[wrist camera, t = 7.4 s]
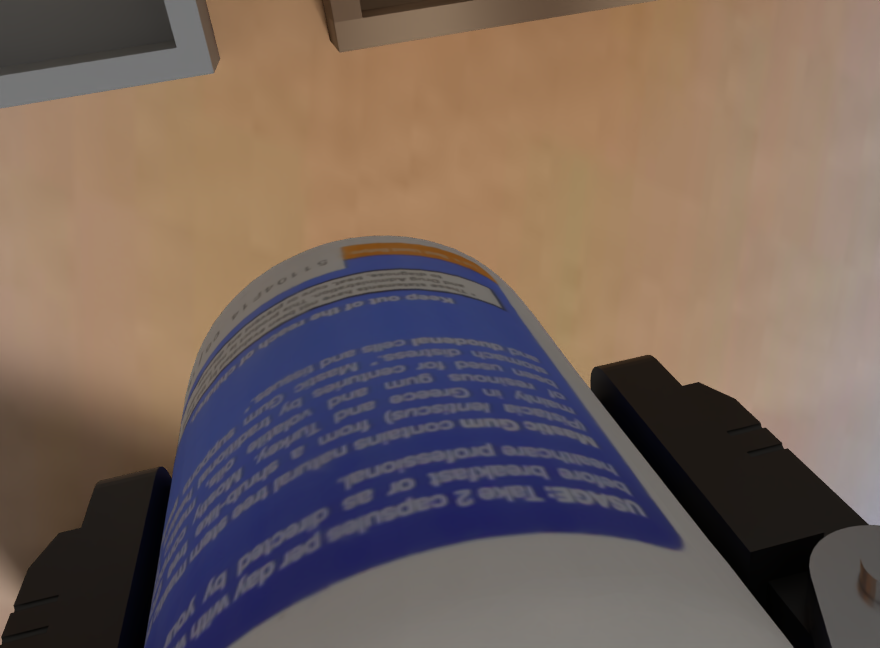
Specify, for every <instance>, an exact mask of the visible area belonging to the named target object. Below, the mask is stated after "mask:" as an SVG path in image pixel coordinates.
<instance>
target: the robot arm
mask: <svg viewBox="0 0 880 648" xmlns="http://www.w3.org/2000/svg"><path fill="white" fill-rule="evenodd" d="M591 391H592V392H593V393H594V395H595V396H596V397H597V399H598V400H599V401H600V402H601V404H602V405H603V406H604V407H605V409H606V410H607V411H608V413H609V414H610V415H611V416H612V418H613V419H614V420H615V422H616V423H617V424H618V425H619V427H620V428H621V429H622V430H623V432H624V433H625V434H626V436H627V437H628V438H629V439H630V441H631V442H632V443H633V444H634V446H635V447H636V448H637V450H638V451H639V452H640V453H641V455H642V456H643V457H644V458H645V460H646V461H647V462H648V464H649V465H650V466H651V467H652V469H653V470H654V471H655V472H656V474H657V475H658V476H659V478H660V479H661V480H662V481H663V483H664V484H665V485H666V486H667V488H668V489H669V490H670V491H671V493H672V494H673V495H674V497H675V498H676V499H677V500H678V502H679V503H680V504H681V505H682V507H683V508H684V509H685V511H686V512H687V513H688V514H689V516H690V517H691V518H692V519H693V521H694V522H695V523H696V525H697V526H698V527H699V528H700V530H701V531H702V532H703V533H704V535H705V536H706V537H707V538H708V540H709V541H710V542H711V543H712V545H713V546H714V547H715V548H716V549H717V551H718V552H719V553H720V554H721V555H722V557H723V558H724V559H725V560H726V562H727V563H728V564H729V565H730V567H731V568H732V569H733V570H734V572H735V573H736V574H737V576H738V577H739V578H740V580H741V581H742V582H743V583H744V585H745V586H746V587H747V589H748V590H749V591H750V592H751V594H752V595H753V596H754V598H755V599H756V600H757V601H758V603H759V604H760V605H761V606H762V608H763V609H764V610H765V611H766V613H767V614H768V615H769V617H770V618H771V619H772V620H773V622H774V623H775V624H776V625H777V627H778V628H779V629H780V630H781V632H782V633H783V634H784V636H785V637H786V638H787V639H788V641H789V642H790V643H791V645H792V646H793V647H794V648H880V526H878V525H869V524H867V523H866V522H865V521H864V520H863V519H862V518H861V517H860V516H859V515H858V514H857V513H856V512H855V511H854V510H853V509H852V508H850V507H849V506H848V505H847V504H846V503H845V502H844V501H843V500H842V499H841V498H840V497H839V496H838V495H837V494H836V493H835V492H833V491H832V490H831V489H830V488H829V487H828V486H827V485H826V484H825V483H824V482H823V481H822V480H821V479H820V478H819V477H818V476H816V475H815V474H814V473H813V472H812V471H811V470H810V469H809V468H808V467H807V466H806V465H805V464H804V463H803V462H802V461H801V460H799V459H798V458H797V457H796V456H795V455H794V454H793V453H792V452H791V451H790V450H789V449H788V448H787V449H784V448H783V446H782V443H781V442H780V441H779V440H778V439H777V438H776V437H775V436H774V435H773V434H772V433H771V432H770V431H769V430H768V429H767V428H762V427H761V423H760V422H759V421H758V420H757V419H756V418H755V417H754V416H753V415H752V414H751V413H750V412H748V411H747V410H746V409H745V408H744V407H743V406H742V405H741V404H740V403H739V402H738V401H737V400H736V399H734V398H732V397H730V396H728V395H725V394H723V393H721V392H719V391H717V390H714V389H712V388H710V387H708V386H706V385H704V384H701V383H699V382H697V383H693V384H689V385H685V386H682V385H681V384H680V383H679V382H678V381H677V380H676V379H675V378H674V377H673V376H672V375H671V374H670V373H669V372H668V371H667V370H666V369H665V368H664V367H663V366H662V365H661V364H660V362H659V361H658V360H657V359H655V358H654V357H653V356H651V355H645V356H641V357H636V358H632V359H628V360H623V361H619V362H615V363H610V364H606V365H602V366H597V367H594V368H593V370H592V373H591ZM171 482H172V479H171V477H170V475H169V473H168V472H167V470H166V469H165V468H164V467H157V468H153V469H148V470H144V471H140V472H135V473H131V474H127V475H122V476H118V477H114V478H109V479H105V480H101V481H99V482H98V483H97V484H96V486H95V488H94V491H93V494H92V497H91V500H90V503H89V506H88V509H87V512H86V515H85V518H84V521H83V524H82V527H81V528H79V529H74V530H70V531H66V532H62V533H59V534H58V535H57V536H56V537H55V538H54V540H53V541H52V542H51V543H50V544H49V545H48V546H47V548H46V549H45V550H44V551H43V552H42V553H41V555H40V556H39V557H38V558H37V559H36V560H35V562H34V563H33V564H32V565H31V566H30V567H29V569H28V571H27V573H26V576H25V578H24V581H23V583H22V586H21V589H20V591H19V594H18V596H17V599H16V601H15V604H14V609H15V612H14V613H11V614H10V616H9V619H8V621H7V624H6V626H5V629H4V631H3V634H2V637H1V638H2V645H0V648H144V645H145V639H146V633H147V627H148V621H149V615H150V609H151V604H152V598H153V592H154V586H155V580H156V574H157V568H158V562H159V556H160V549H161V543H162V536H163V530H164V524H165V518H166V512H167V506H168V501H169V495H170V489H171Z"/></svg>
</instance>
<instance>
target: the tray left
mask: <svg viewBox="0 0 880 648" xmlns="http://www.w3.org/2000/svg"><path fill="white" fill-rule="evenodd" d="M219 60H220V56H219V52H218V48H217V44H216V40H215V36H214V32H213V28H212V24H211V20H210V16H209V12H208V8H207V4H206V0H0V108H6V107H12V106H18V105H24V104H30V103H36V102H42V101H48V100H54V99H60V98H66V97H72V96H78V95H85V94H91V93H97V92H103V91H109V90H115V89H121V88H127V87H133V86H139V85H145V84H151V83H157V82H164V81H170V80H176V79H182V78H188V77H194V76H200V75H206V74H212V73H214V72H215V70H216V67H217V65H218V63H219Z"/></svg>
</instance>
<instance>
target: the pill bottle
mask: <svg viewBox="0 0 880 648" xmlns="http://www.w3.org/2000/svg"><path fill="white" fill-rule="evenodd" d="M144 648H794V647H793V646H792V645H791V643H790V642H789V641H788V639H787V638H786V637H785V636H784V634H783V633H782V632H781V630H780V629H779V628H778V627H777V625H776V624H775V623H774V622H773V620H772V619H771V618H770V617H769V615H768V614H767V613H766V611H765V610H764V609H763V608H762V606H761V605H760V604H759V603H758V601H757V600H756V599H755V598H754V596H753V595H752V594H751V592H750V591H749V590H748V589H747V587H746V586H745V585H744V583H743V582H742V581H741V580H740V578H739V577H738V576H737V574H736V573H735V572H734V570H733V569H732V568H731V567H730V565H729V564H728V563H727V562H726V560H725V559H724V558H723V557H722V555H721V554H720V553H719V552H718V551H717V549H716V548H715V547H714V546H713V545H712V543H711V542H710V541H709V540H708V538H707V537H706V536H705V535H704V533H703V532H702V531H701V530H700V528H699V527H698V526H697V525H696V523H695V522H694V521H693V519H692V518H691V517H690V516H689V514H688V513H687V512H686V511H685V509H684V508H683V507H682V505H681V504H680V503H679V502H678V500H677V499H676V498H675V497H674V495H673V494H672V493H671V491H670V490H669V489H668V488H667V486H666V485H665V484H664V483H663V481H662V480H661V479H660V478H659V476H658V475H657V474H656V472H655V471H654V470H653V469H652V467H651V466H650V465H649V464H648V462H647V461H646V460H645V458H644V457H643V456H642V455H641V453H640V452H639V451H638V450H637V448H636V447H635V446H634V444H633V443H632V442H631V441H630V439H629V438H628V437H627V436H626V434H625V433H624V432H623V430H622V429H621V428H620V427H619V425H618V424H617V423H616V422H615V420H614V419H613V418H612V416H611V415H610V414H609V413H608V411H607V410H606V409H605V407H604V406H603V405H602V404H601V402H600V401H599V400H598V399H597V397H596V396H595V395H594V393H593V392H592V391H591V390H590V388H589V387H588V386H587V384H586V383H585V382H584V381H583V379H582V378H581V377H580V376H579V374H578V373H577V372H576V370H575V369H574V368H573V367H572V365H571V364H570V363H569V361H568V360H567V359H566V357H565V356H564V355H563V353H562V352H561V351H560V349H559V348H558V347H557V345H556V344H555V343H554V341H553V340H552V339H551V337H550V336H549V335H548V333H547V332H546V331H545V329H544V328H543V327H542V325H541V324H540V323H539V321H538V320H537V318H536V317H535V316H534V315H533V313H532V312H531V311H530V310H529V309H528V307H527V306H526V305H525V304H524V302H523V301H522V300H521V299H520V298H519V296H518V295H517V294H516V293H515V292H514V290H513V289H512V288H511V287H510V286H508V285H507V284H506V283H505V282H504V281H503V280H502V279H501V278H500V277H499V276H498V275H497V274H495V273H494V272H493V271H492V270H490V269H489V268H488V267H486V266H485V265H483V264H482V263H480V262H479V261H477V260H475V259H474V258H472V257H470V256H468V255H466V254H464V253H462V252H460V251H458V250H456V249H454V248H450V247H447V246H444V245H441V244H438V243H435V242H431V241H427V240H423V239H416V238H410V237H400V236H366V237H357V238H349V239H344V240H340V241H335V242H331V243H327V244H323V245H320V246H318V247H315V248H312V249H309V250H306V251H304V252H302V253H300V254H298V255H296V256H294V257H291V258H289V259H287V260H285V261H283V262H281V263H279V264H277V265H276V266H274V267H272V268H271V269H269V270H268V271H266V272H265V273H264V274H262V275H261V276H259V277H258V278H256V279H255V280H253V281H252V282H251V283H250V284H249V285H248V286H247V287H245V288H244V289H243V290H242V291H241V292H240V293H239V294H238V295H237V296H236V297H235V298H234V299H233V300H232V301H231V302H230V303H229V304H228V305H227V307H226V308H225V309H224V310H223V312H222V313H221V314H220V316H219V317H218V318H217V319H216V321H215V322H214V324H213V325H212V327H211V329H210V330H209V332H208V334H207V336H206V337H205V339H204V341H203V343H202V346H201V348H200V350H199V352H198V354H197V357H196V360H195V363H194V366H193V369H192V372H191V376H190V380H189V384H188V388H187V392H186V397H185V403H184V409H183V415H182V422H181V428H180V434H179V440H178V446H177V452H176V457H175V463H174V468H173V475H172V482H171V489H170V495H169V501H168V506H167V512H166V518H165V524H164V530H163V536H162V543H161V549H160V556H159V562H158V568H157V574H156V580H155V586H154V592H153V598H152V604H151V609H150V615H149V621H148V627H147V633H146V639H145V645H144Z"/></svg>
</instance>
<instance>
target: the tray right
mask: <svg viewBox="0 0 880 648" xmlns="http://www.w3.org/2000/svg"><path fill="white" fill-rule="evenodd" d="M650 1H656V0H323V4H324V9H325V15H326V20H327V26H328V31H329V36H330V41H331V42H332V44H333V45H334V46H335V47H336V49H337V50H338V51H339V52H346V51H352V50H358V49H364V48H370V47H376V46H382V45H388V44H394V43H401V42H407V41H413V40H419V39H425V38H431V37H437V36H443V35H449V34H455V33H461V32H467V31H473V30H480V29H486V28H492V27H498V26H504V25H510V24H516V23H522V22H528V21H534V20H540V19H546V18H552V17H559V16H565V15H571V14H577V13H583V12H589V11H595V10H601V9H607V8H613V7H619V6H625V5H631V4H638V3H644V2H650Z"/></svg>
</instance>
